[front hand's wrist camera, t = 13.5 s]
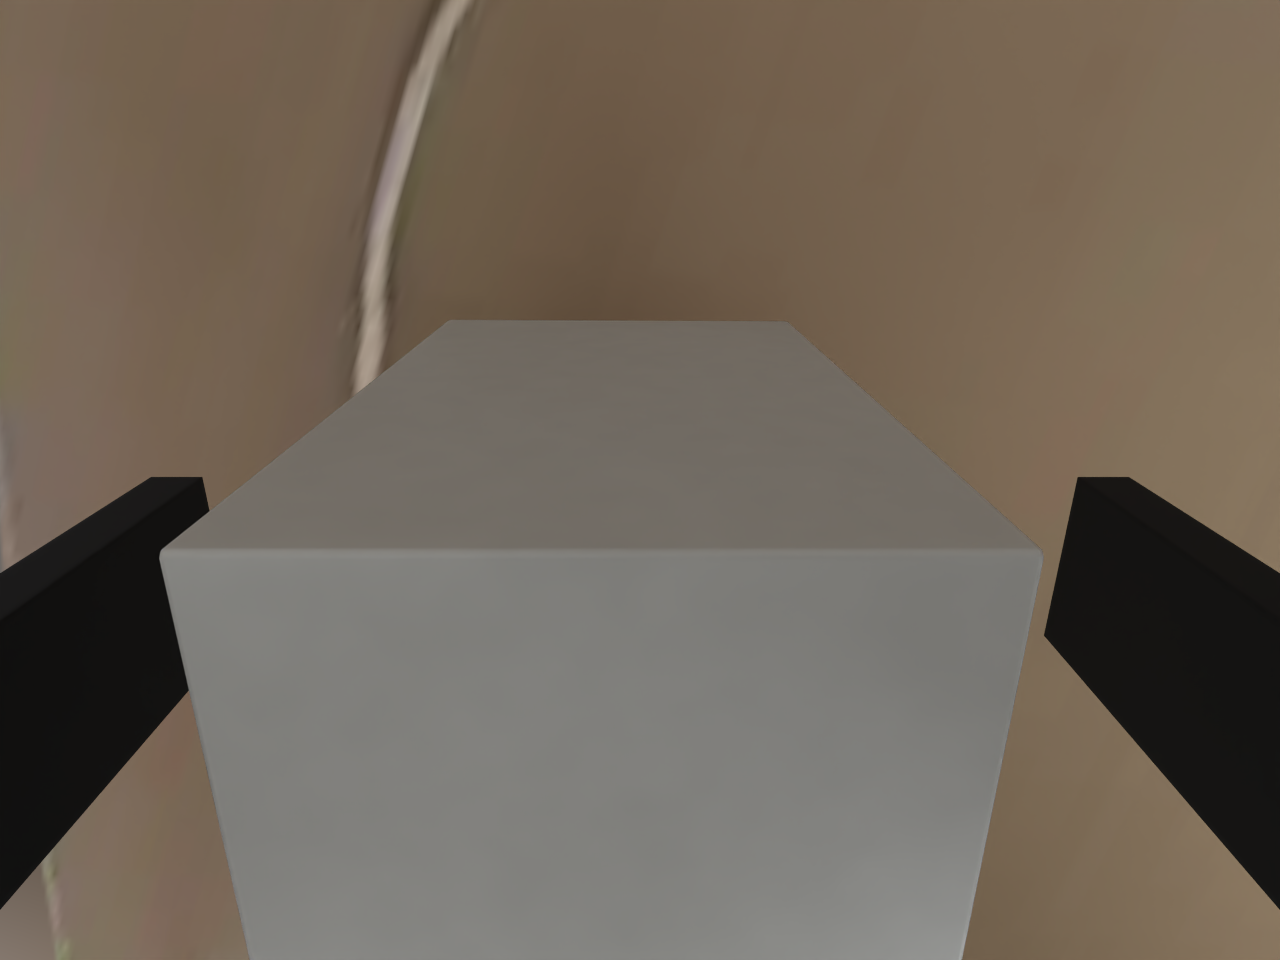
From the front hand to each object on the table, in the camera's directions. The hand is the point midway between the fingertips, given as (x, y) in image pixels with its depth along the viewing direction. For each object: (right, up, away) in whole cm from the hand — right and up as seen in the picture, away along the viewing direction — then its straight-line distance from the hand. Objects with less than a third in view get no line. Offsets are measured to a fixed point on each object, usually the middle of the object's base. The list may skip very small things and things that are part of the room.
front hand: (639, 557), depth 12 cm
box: (0, -7, +7) cm, 10 cm away
